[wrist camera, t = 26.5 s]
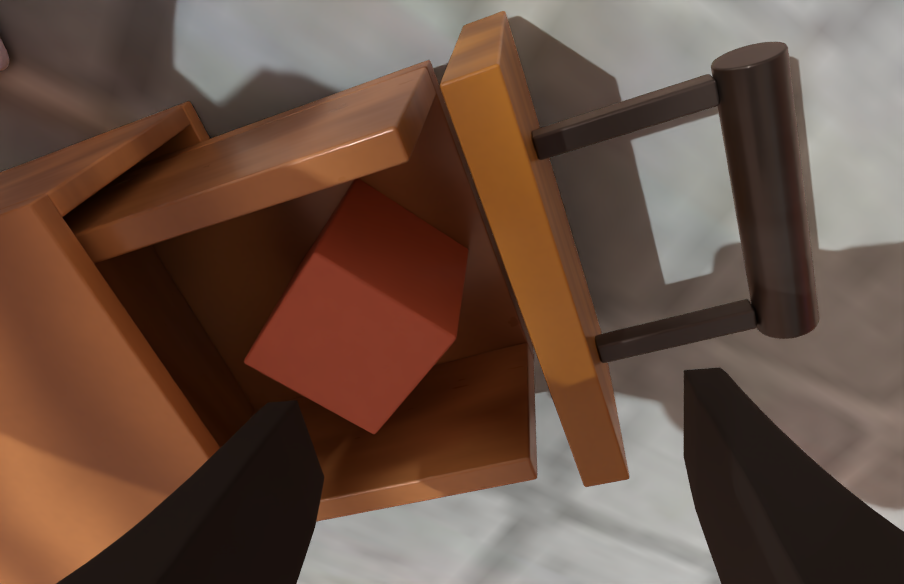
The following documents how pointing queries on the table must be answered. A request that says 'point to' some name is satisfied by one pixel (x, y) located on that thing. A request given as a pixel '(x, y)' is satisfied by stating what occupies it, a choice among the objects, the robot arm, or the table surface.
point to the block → (365, 310)
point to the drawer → (464, 220)
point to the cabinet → (81, 368)
